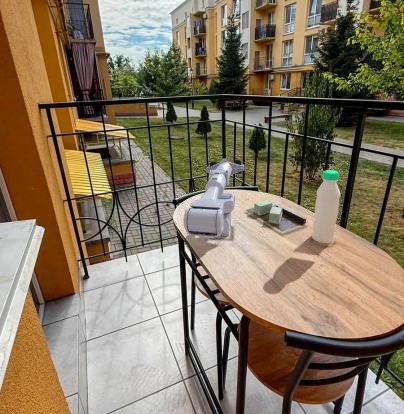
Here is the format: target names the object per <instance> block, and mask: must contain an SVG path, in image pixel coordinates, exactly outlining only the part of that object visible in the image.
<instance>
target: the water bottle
mask: <svg viewBox="0 0 404 414" xmlns="http://www.w3.org/2000/svg"><path fill="white" fill-rule="evenodd" d="M321 178H322V182H321V184H320V186H319V187H318V188H317V190H316V198H315V205H314V213H313V214H314V215H313V216H314V217H313V223H312V232H311V238H312V239H313V240H314V241H316V242H318V243H322V244H330V243H331V245H333V244H334V241H335V234H336V233H335V232H336V229H337V225H336V223H337V220H338V214H339V208H340V198H341V191H340V188H339V184H338V181H339V179H340V173H339V172H338V171H337V170H332V169H327V170H324V171H323V172H322V176H321Z"/></svg>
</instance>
